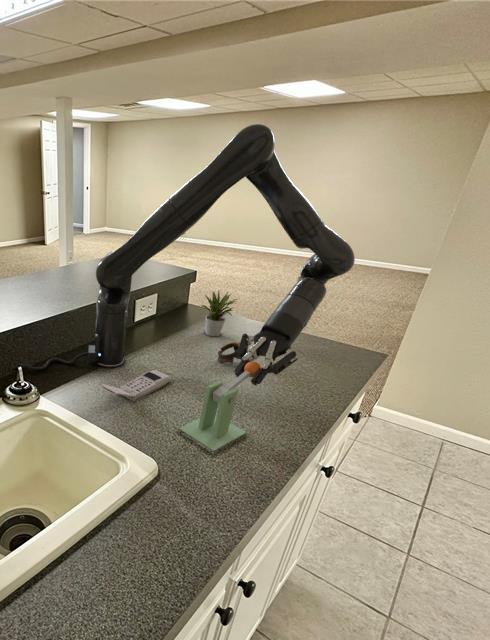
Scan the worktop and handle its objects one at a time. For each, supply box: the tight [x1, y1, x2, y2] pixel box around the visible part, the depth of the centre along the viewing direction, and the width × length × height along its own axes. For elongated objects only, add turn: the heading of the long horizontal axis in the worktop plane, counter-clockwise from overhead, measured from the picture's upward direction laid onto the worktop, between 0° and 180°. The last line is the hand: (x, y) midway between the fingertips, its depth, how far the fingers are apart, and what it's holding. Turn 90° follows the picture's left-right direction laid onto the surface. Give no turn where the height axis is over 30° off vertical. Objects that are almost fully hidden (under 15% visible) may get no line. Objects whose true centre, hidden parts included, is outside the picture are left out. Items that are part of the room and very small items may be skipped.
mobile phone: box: [101, 369, 174, 402], centre depth 109 cm, size 6×6×25 cm
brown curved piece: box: [217, 341, 249, 365], centre depth 127 cm, size 12×10×8 cm
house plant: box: [200, 289, 238, 337], centre depth 144 cm, size 14×14×16 cm
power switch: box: [178, 380, 248, 452], centre depth 91 cm, size 12×10×13 cm
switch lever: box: [213, 361, 262, 405], centre depth 91 cm, size 14×4×4 cm, turn 125°
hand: (245, 379), depth 92 cm, fingers closed on switch lever, 3 cm apart
